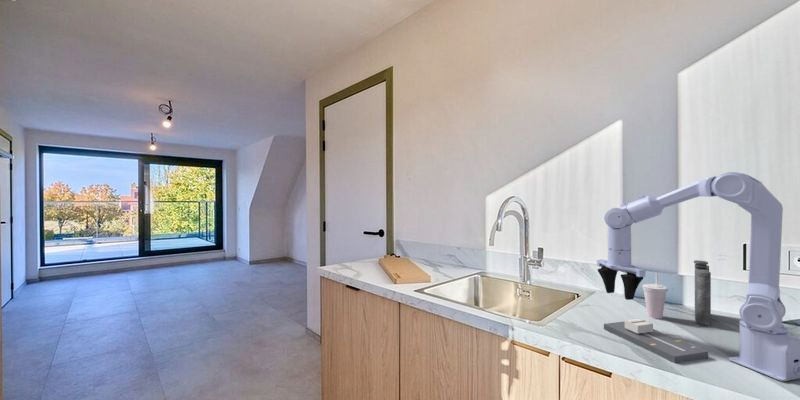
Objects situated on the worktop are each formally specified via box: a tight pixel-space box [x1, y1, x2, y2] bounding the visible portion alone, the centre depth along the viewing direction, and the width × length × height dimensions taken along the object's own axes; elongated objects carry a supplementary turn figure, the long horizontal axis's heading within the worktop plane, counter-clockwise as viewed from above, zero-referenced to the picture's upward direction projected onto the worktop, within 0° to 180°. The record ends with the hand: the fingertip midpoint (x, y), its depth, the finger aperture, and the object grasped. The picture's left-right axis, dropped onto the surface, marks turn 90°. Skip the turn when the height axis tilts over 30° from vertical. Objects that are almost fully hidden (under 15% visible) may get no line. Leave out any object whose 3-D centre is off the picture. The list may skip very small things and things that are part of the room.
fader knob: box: [624, 317, 654, 334], centre depth 91 cm, size 4×5×2 cm
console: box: [603, 320, 709, 364], centre depth 87 cm, size 20×10×2 cm, turn 12°
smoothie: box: [641, 272, 668, 320], centre depth 105 cm, size 6×6×14 cm
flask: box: [693, 259, 712, 328], centre depth 102 cm, size 4×14×18 cm, turn 139°
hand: (619, 295), depth 96 cm, fingers open, 6 cm apart
